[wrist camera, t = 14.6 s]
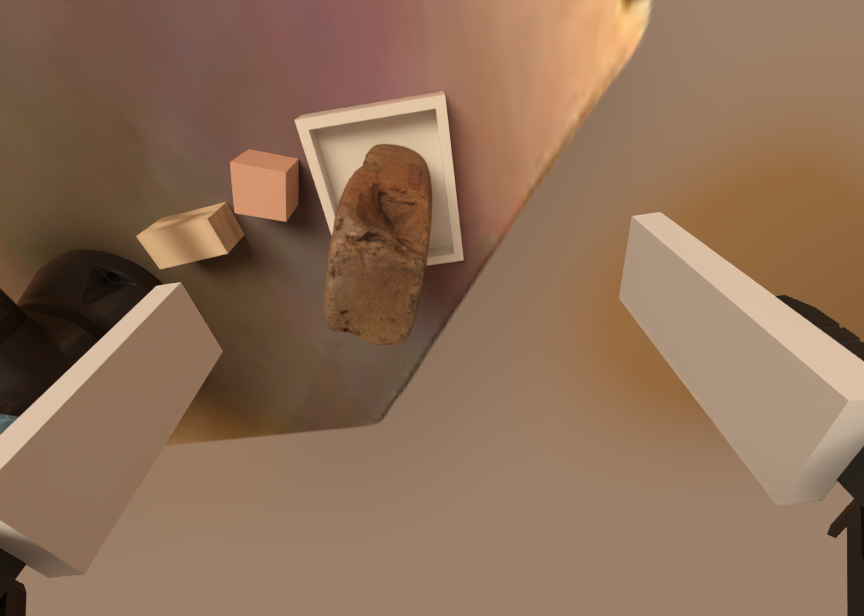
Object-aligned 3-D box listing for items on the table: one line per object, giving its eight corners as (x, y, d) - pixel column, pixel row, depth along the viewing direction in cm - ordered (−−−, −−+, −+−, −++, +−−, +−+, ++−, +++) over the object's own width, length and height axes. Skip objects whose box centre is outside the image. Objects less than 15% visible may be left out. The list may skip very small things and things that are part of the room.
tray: (348, 265, 48) (344, 277, 46) (302, 114, 38) (294, 120, 36) (461, 248, 47) (463, 260, 45) (443, 90, 37) (445, 94, 35)
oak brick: (182, 248, 46) (160, 269, 42) (162, 217, 44) (136, 236, 40) (245, 234, 46) (227, 253, 41) (227, 201, 43) (207, 218, 39)
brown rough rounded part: (412, 244, 46) (408, 361, 29) (348, 229, 44) (306, 343, 28) (437, 150, 40) (450, 231, 23) (364, 129, 38) (323, 199, 22)
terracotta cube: (252, 196, 43) (234, 212, 39) (249, 149, 40) (229, 162, 36) (298, 204, 44) (286, 221, 40) (298, 158, 41) (285, 172, 37)
